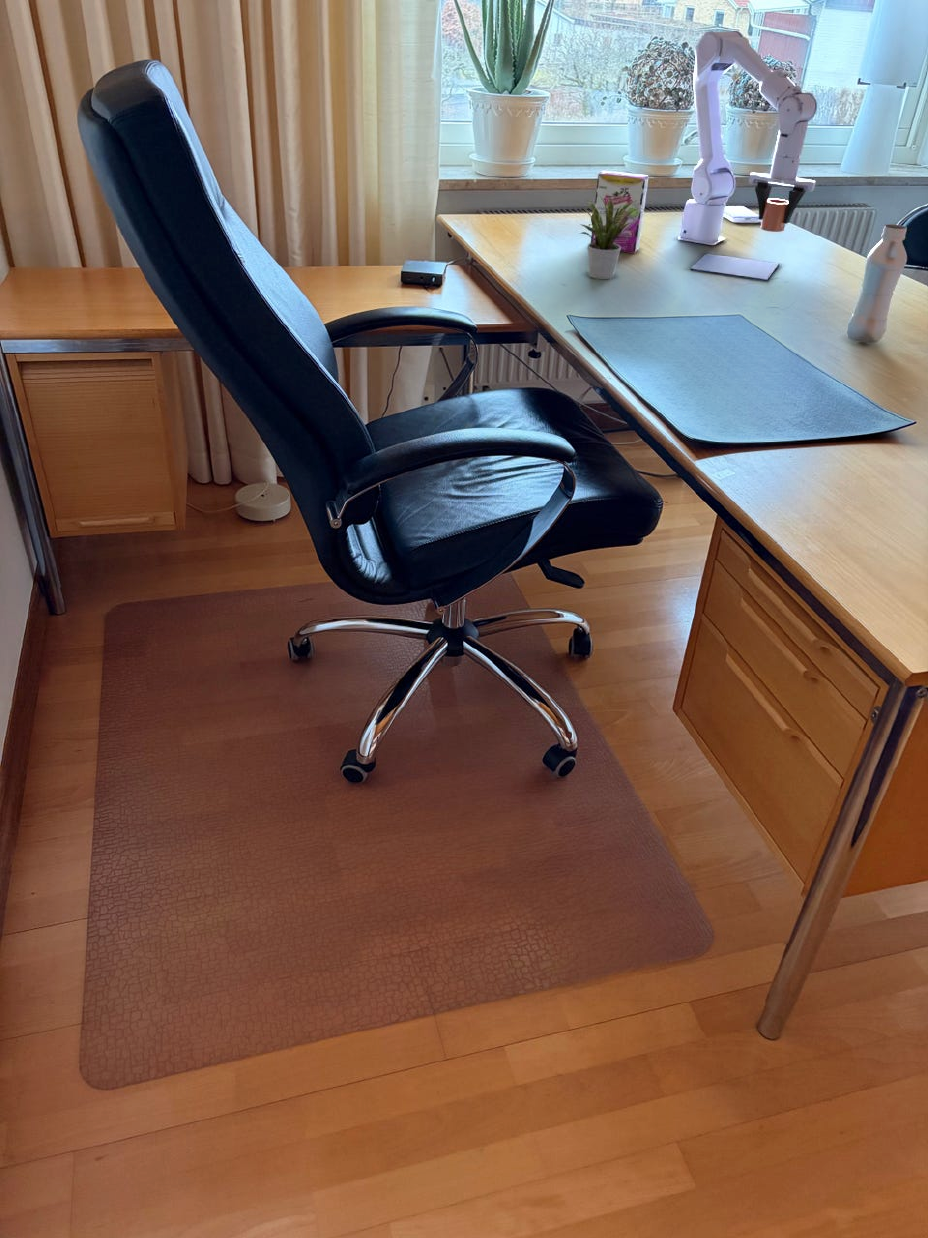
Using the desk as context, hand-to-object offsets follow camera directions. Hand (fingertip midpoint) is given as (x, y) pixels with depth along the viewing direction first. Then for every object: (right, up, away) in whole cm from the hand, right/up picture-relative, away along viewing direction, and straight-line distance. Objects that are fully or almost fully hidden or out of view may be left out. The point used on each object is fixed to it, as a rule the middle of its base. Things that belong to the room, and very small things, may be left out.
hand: (773, 220), depth 211 cm
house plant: (-40, -17, -11) cm, 45 cm away
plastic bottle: (+2, -41, -42) cm, 59 cm away
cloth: (-10, -12, -3) cm, 16 cm away
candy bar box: (-36, -4, +8) cm, 37 cm away
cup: (0, -2, +1) cm, 2 cm away
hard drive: (+3, +18, +39) cm, 43 cm away
